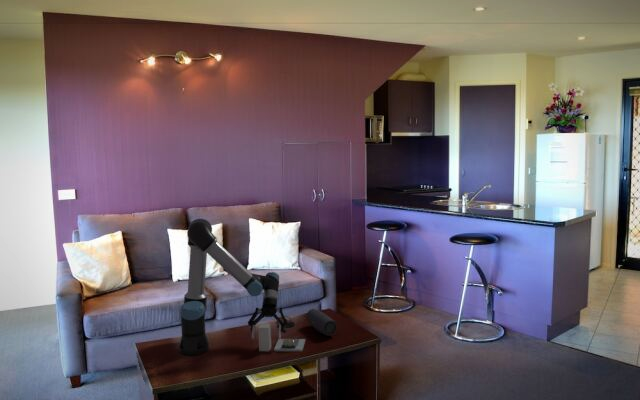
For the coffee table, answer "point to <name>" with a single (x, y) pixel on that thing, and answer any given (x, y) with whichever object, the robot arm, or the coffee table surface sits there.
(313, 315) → the bluetooth speaker
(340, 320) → the coffee table surface
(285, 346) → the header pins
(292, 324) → the walkie-talkie
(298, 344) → the board
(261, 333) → the plug block
